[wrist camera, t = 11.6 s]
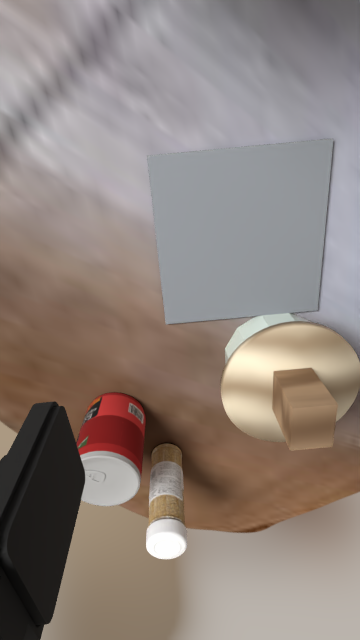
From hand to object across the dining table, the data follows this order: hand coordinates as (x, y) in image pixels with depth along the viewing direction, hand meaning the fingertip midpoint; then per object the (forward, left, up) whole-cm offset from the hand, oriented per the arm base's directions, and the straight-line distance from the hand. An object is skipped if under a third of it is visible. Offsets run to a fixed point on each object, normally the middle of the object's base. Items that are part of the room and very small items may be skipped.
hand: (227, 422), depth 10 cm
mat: (+1, +6, -29) cm, 30 cm away
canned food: (+23, -11, -29) cm, 39 cm away
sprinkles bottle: (+31, -5, -29) cm, 43 cm away
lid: (+16, +10, -23) cm, 30 cm away
